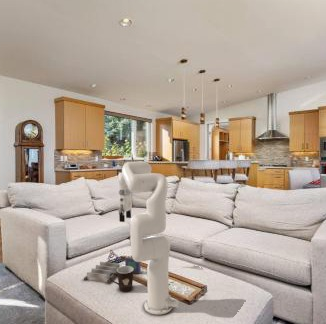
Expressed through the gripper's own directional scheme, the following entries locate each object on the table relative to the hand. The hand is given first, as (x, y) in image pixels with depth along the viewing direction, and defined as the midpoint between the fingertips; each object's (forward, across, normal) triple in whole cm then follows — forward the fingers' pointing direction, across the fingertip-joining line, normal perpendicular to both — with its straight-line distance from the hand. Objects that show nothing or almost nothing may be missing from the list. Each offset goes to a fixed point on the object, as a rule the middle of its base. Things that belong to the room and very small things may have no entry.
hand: (125, 219), depth 159 cm
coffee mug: (+28, -27, -10) cm, 41 cm away
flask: (+28, -9, -8) cm, 31 cm away
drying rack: (+28, -16, +7) cm, 33 cm away
